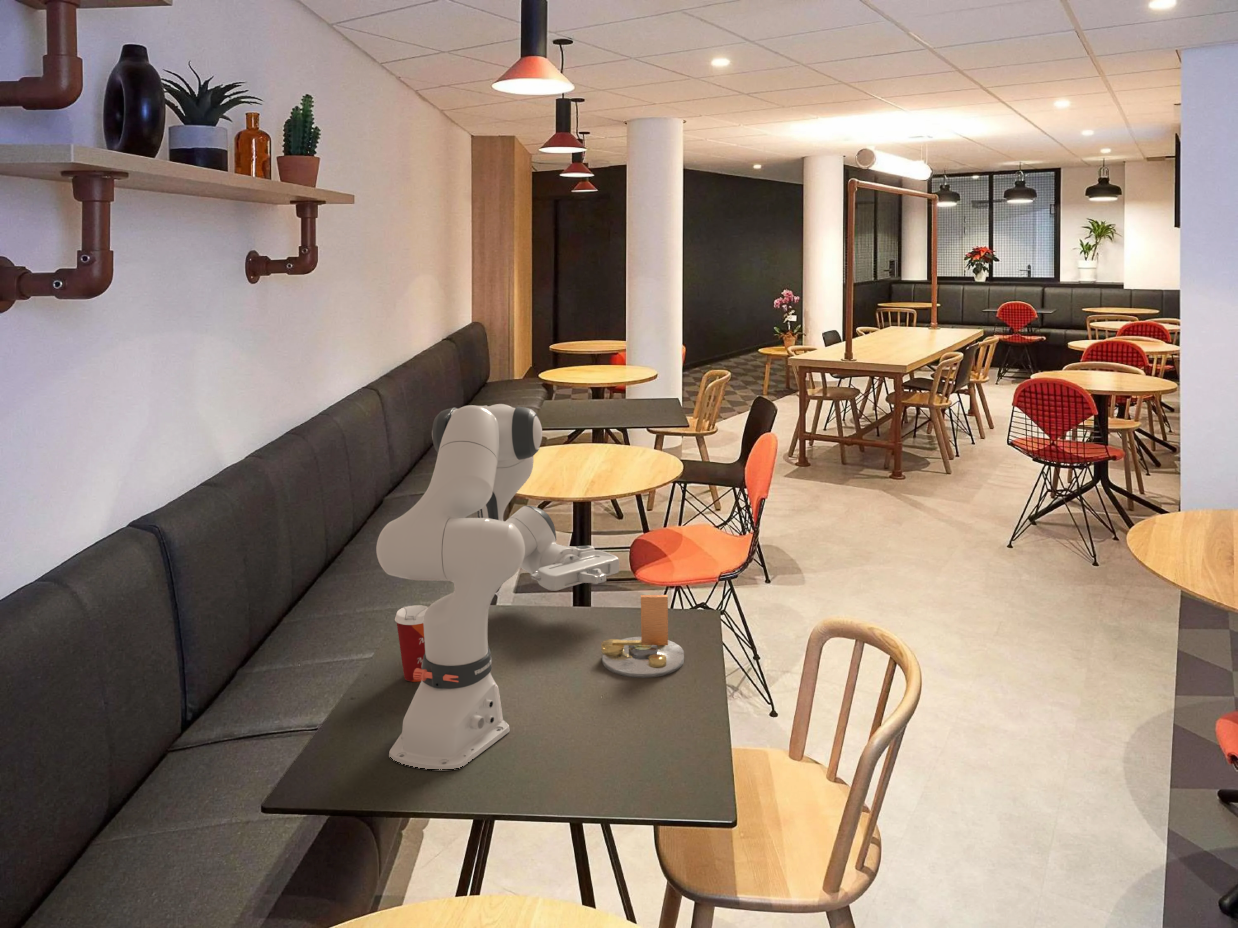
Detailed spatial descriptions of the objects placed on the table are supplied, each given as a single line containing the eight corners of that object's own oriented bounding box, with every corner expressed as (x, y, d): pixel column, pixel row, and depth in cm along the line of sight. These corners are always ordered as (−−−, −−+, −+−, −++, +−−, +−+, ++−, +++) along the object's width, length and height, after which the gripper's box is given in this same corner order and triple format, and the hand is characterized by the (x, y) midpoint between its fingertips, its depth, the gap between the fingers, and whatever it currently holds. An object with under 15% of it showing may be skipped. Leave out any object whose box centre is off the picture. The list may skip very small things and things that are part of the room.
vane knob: (600, 656, 197) (599, 600, 194) (601, 646, 202) (600, 592, 199) (668, 655, 197) (667, 600, 194) (667, 646, 201) (667, 591, 199)
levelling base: (671, 682, 189) (671, 667, 188) (590, 671, 194) (590, 657, 194) (692, 648, 205) (692, 634, 204) (617, 639, 210) (617, 625, 209)
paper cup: (433, 684, 190) (428, 618, 187) (394, 684, 190) (389, 618, 187) (441, 667, 198) (437, 603, 194) (404, 667, 198) (399, 603, 195)
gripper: (525, 561, 214) (564, 575, 204) (595, 543, 228) (634, 556, 218) (526, 588, 216) (564, 603, 206) (596, 569, 229) (635, 582, 219)
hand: (601, 579), depth 212 cm, fingers closed
